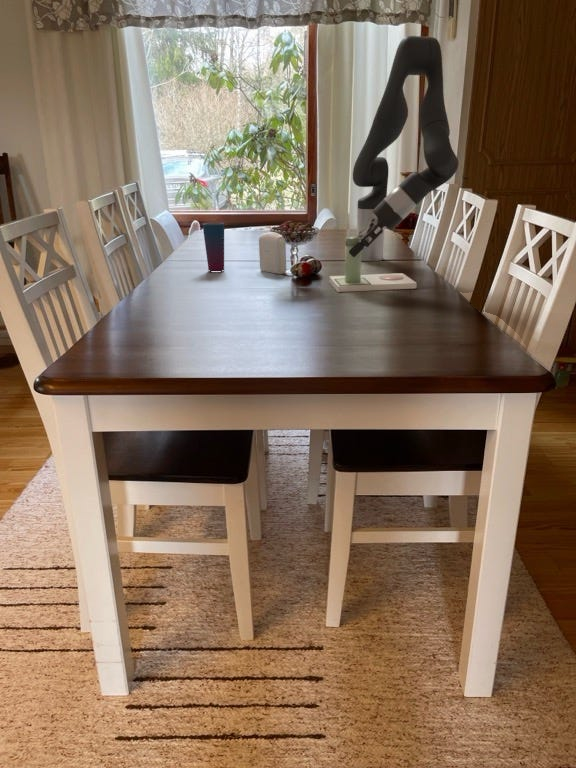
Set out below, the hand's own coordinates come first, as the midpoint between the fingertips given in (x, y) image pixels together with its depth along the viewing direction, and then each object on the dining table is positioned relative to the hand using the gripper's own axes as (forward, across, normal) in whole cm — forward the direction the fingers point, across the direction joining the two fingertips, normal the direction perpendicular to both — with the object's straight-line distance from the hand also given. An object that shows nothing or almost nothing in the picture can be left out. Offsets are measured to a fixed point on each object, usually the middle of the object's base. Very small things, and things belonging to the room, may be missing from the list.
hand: (350, 252), depth 166 cm
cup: (+37, -25, -23) cm, 50 cm away
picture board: (+3, -3, +11) cm, 12 cm away
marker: (+5, 0, +6) cm, 8 cm away
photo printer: (+24, -23, -10) cm, 35 cm away
